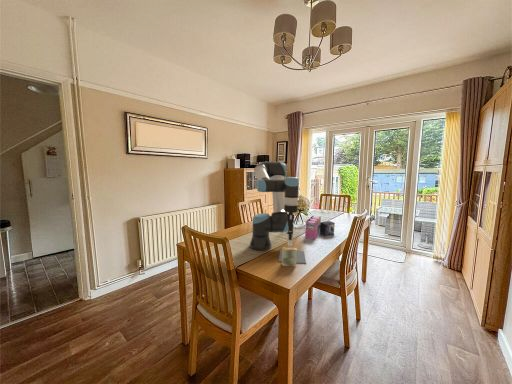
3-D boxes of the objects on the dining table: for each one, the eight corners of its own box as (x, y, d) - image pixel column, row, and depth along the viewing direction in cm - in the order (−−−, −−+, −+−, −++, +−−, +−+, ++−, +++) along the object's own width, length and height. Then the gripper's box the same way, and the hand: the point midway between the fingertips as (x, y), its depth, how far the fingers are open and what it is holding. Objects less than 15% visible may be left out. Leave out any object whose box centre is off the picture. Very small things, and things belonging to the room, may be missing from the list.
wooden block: (281, 265, 124) (282, 249, 123) (282, 263, 126) (282, 247, 125) (295, 266, 123) (296, 250, 122) (295, 264, 125) (296, 248, 124)
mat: (278, 261, 129) (278, 260, 128) (280, 250, 146) (280, 249, 146) (306, 264, 126) (306, 263, 126) (303, 251, 144) (303, 251, 144)
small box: (324, 236, 177) (325, 224, 175) (319, 234, 182) (320, 222, 181) (334, 234, 181) (335, 222, 180) (328, 232, 187) (329, 220, 186)
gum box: (311, 230, 193) (312, 215, 192) (320, 231, 190) (321, 216, 188) (304, 237, 172) (305, 221, 171) (314, 239, 169) (315, 222, 167)
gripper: (298, 209, 107) (297, 249, 110) (296, 201, 132) (295, 234, 134) (283, 208, 109) (282, 248, 111) (284, 200, 133) (283, 234, 135)
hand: (289, 241), depth 123 cm, fingers open, 13 cm apart
